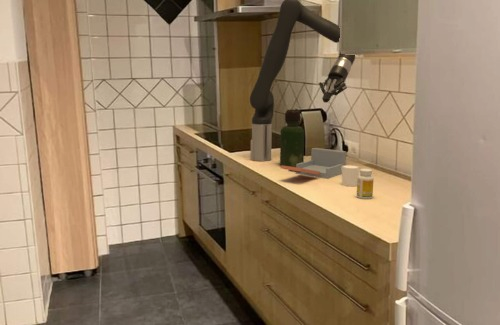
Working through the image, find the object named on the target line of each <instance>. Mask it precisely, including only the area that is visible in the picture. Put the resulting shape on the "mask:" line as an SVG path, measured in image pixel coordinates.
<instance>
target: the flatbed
mask: <svg viewBox="0 0 500 325" xmlns="http://www.w3.org/2000/svg"><path fill="white" fill-rule="evenodd" d="M310 157H311V158H310V160H307V161H304V162H302V163H299V164H296V168H303V169H308V170H313V171H319V172H320V175H318V174H312V173H305V172H301V173H297V172H295V174H297V175H304V176H309V177H314V176H315V177H314V178H322V179H331V178H334V177H337V176H340V175H342V168H341V167H342V166H344V165H347V164H346V163H347V151H344V150H337V149H331V148H330V149H329V148H328V149H327V148H321V147H313V148H311V154H310Z"/></svg>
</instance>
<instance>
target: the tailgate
mask: <svg viewBox="0 0 500 325" xmlns="http://www.w3.org/2000/svg"><path fill="white" fill-rule="evenodd" d="M280 169H283V170H288V172H293V173H296V172H297V173H301V172H305V173H312V174H318V175H320V172H319V171H313V170H308V169H303V168H296V167H289V166H283V165H280Z"/></svg>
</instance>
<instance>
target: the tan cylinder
mask: <svg viewBox="0 0 500 325" xmlns="http://www.w3.org/2000/svg"><path fill="white" fill-rule="evenodd" d="M341 168H342V174H341V184H342V186H344V187H357V179H358V176H359V175H360V169H361V168H360V166H359V165H353V164H352V165H351V164H350V165H349V164H346V165H344V166H342V167H341Z"/></svg>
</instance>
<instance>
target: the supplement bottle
mask: <svg viewBox="0 0 500 325" xmlns="http://www.w3.org/2000/svg"><path fill="white" fill-rule="evenodd" d="M372 174H373V170H372V169H370V168H360V169H359V176H358V179H357V186H356V197H357V198H359V199H363V200H370V199H372V198H373V194H374V193H373V192H374V180H375V179H374V176H373V175H372Z"/></svg>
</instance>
